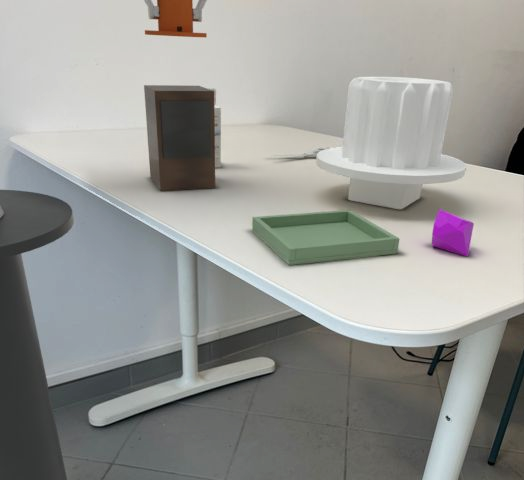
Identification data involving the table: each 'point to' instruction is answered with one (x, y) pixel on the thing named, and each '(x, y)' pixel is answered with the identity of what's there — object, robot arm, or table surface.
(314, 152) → the scissors
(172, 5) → the hat
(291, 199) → the table surface
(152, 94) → the cabinet
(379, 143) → the flanged gear
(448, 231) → the crystal
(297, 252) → the tray
